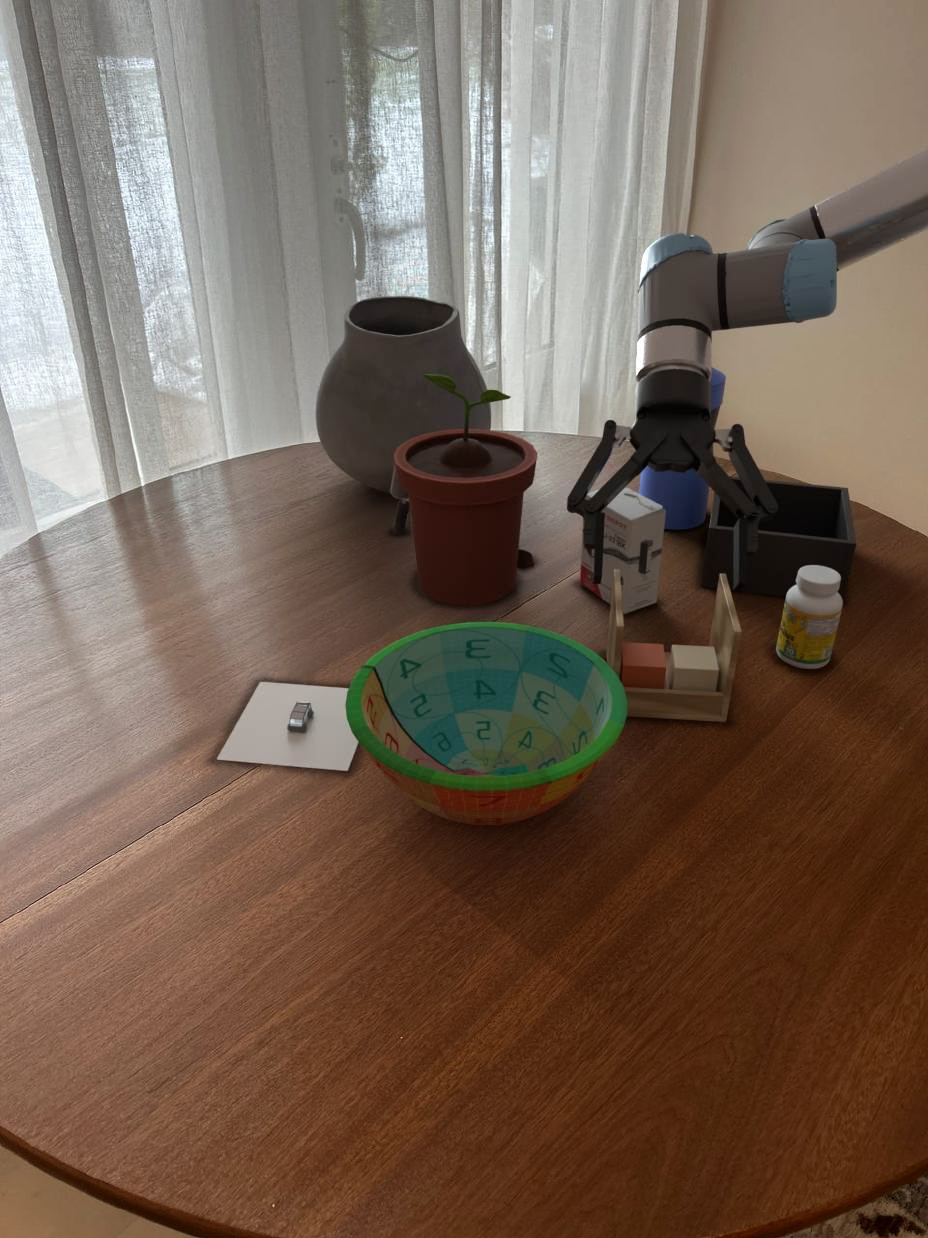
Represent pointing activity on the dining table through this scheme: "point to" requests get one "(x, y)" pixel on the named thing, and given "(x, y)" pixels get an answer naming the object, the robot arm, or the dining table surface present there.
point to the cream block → (693, 668)
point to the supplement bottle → (810, 618)
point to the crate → (665, 700)
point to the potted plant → (464, 506)
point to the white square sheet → (293, 728)
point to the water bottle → (683, 479)
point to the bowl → (486, 718)
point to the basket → (785, 538)
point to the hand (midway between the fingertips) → (668, 584)
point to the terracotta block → (642, 665)
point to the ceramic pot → (394, 384)
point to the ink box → (628, 550)
